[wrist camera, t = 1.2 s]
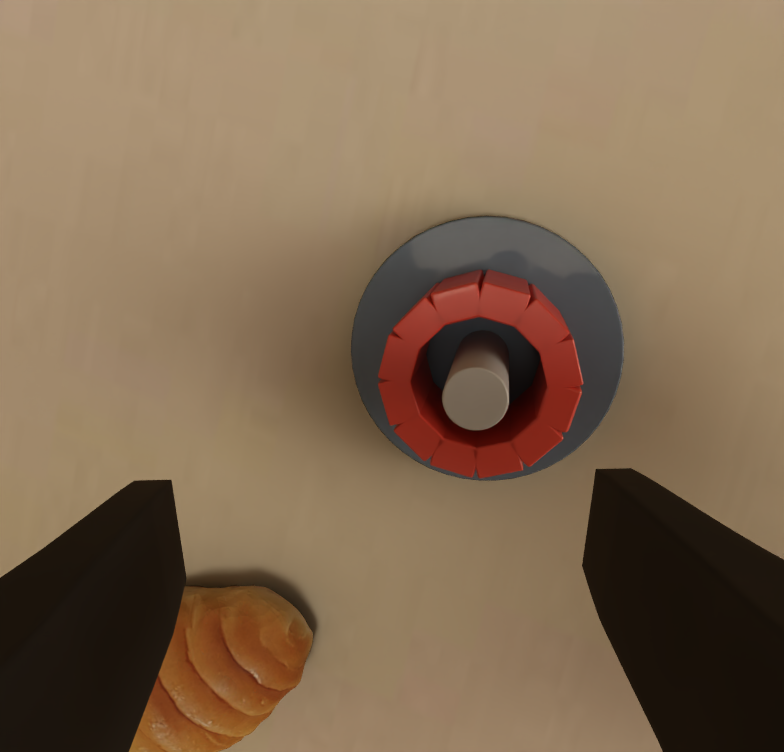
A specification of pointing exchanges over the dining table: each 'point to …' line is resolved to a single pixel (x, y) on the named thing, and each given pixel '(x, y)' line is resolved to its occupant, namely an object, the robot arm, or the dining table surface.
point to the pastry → (223, 669)
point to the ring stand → (491, 328)
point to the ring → (524, 415)
